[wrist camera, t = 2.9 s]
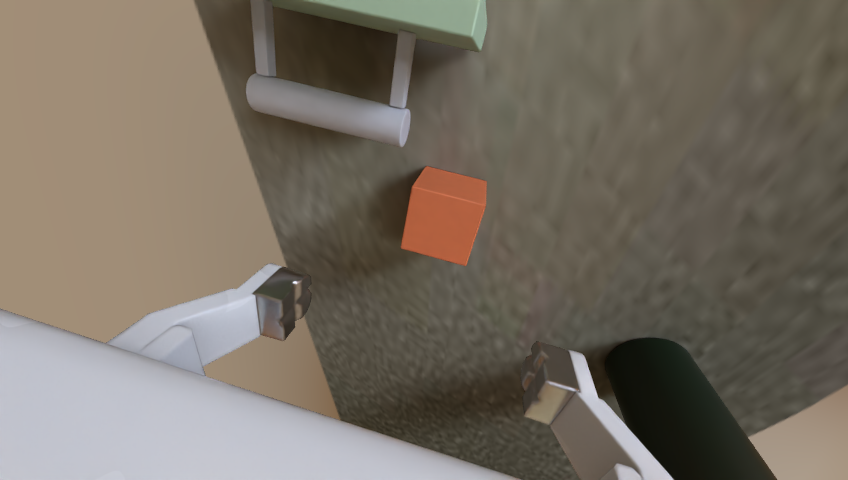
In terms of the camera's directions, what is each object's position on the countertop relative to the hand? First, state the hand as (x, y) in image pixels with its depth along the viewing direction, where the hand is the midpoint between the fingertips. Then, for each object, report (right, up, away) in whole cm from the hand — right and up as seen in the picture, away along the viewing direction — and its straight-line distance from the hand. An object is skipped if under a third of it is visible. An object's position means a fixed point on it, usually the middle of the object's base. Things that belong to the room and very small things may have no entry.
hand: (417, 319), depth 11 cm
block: (+2, +5, +9) cm, 11 cm away
